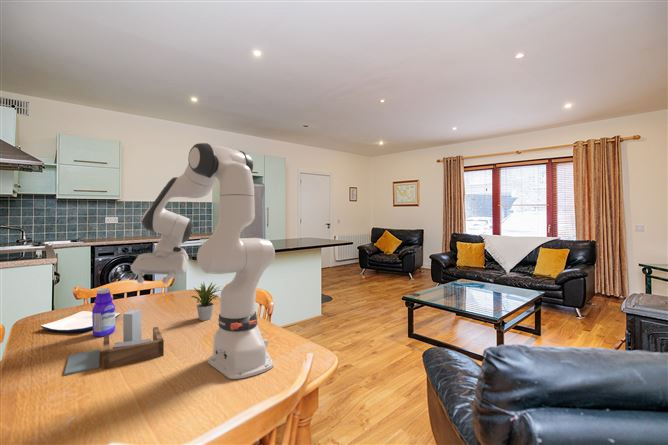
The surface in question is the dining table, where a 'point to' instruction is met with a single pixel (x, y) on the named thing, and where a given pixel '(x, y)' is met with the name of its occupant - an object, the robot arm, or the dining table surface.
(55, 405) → the dining table surface
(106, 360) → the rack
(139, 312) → the grey rectangular block
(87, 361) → the slate mat
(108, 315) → the bottle
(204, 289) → the house plant
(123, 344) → the offcut stack
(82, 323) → the plate
